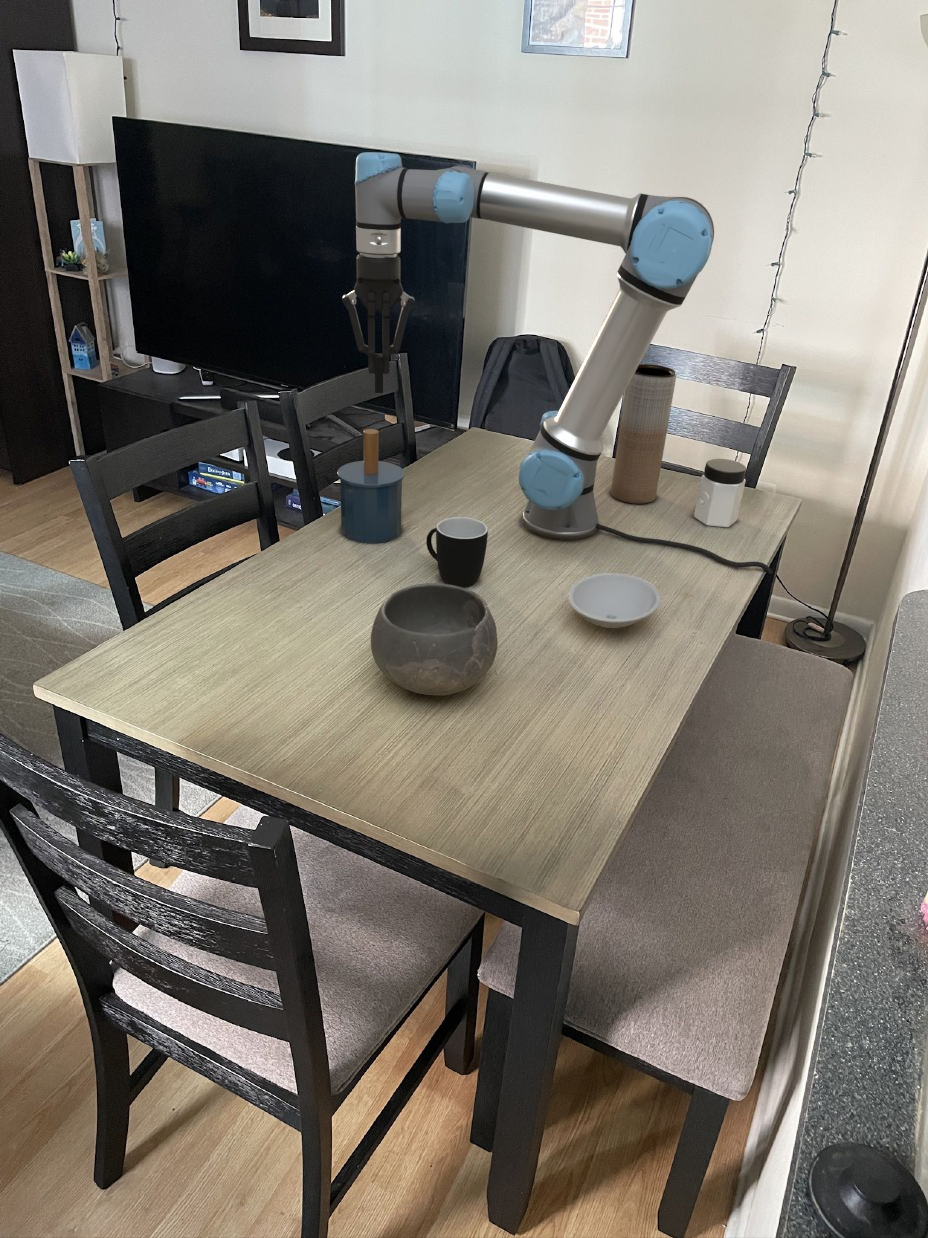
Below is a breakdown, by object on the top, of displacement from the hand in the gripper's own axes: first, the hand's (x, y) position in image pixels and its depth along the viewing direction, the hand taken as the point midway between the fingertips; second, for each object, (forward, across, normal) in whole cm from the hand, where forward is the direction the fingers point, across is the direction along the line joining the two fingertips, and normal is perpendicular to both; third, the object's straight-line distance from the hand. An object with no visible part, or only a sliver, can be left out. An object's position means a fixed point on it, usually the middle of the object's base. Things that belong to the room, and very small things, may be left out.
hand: (378, 390), depth 164 cm
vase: (+27, +56, +16) cm, 64 cm away
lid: (+15, -2, -3) cm, 16 cm away
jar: (+27, +71, +3) cm, 76 cm away
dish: (+27, +38, -39) cm, 61 cm away
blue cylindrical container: (+27, -2, -3) cm, 27 cm away
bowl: (+27, +7, -56) cm, 63 cm away
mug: (+27, +13, -23) cm, 38 cm away
